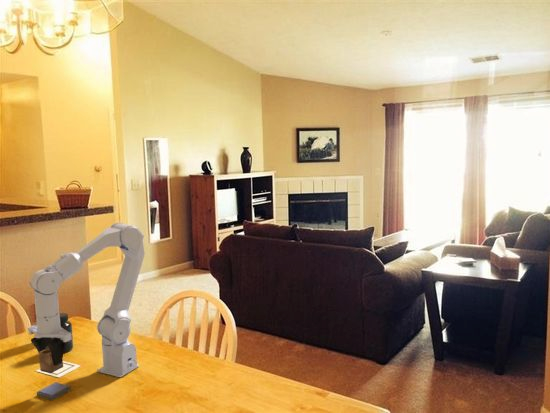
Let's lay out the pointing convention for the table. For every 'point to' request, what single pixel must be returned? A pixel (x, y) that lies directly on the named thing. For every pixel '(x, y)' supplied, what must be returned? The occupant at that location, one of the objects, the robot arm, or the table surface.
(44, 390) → the ink pad
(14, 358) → the table surface
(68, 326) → the supplement bottle
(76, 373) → the table surface
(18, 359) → the table surface
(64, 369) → the form sheet
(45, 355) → the stamp
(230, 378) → the table surface
